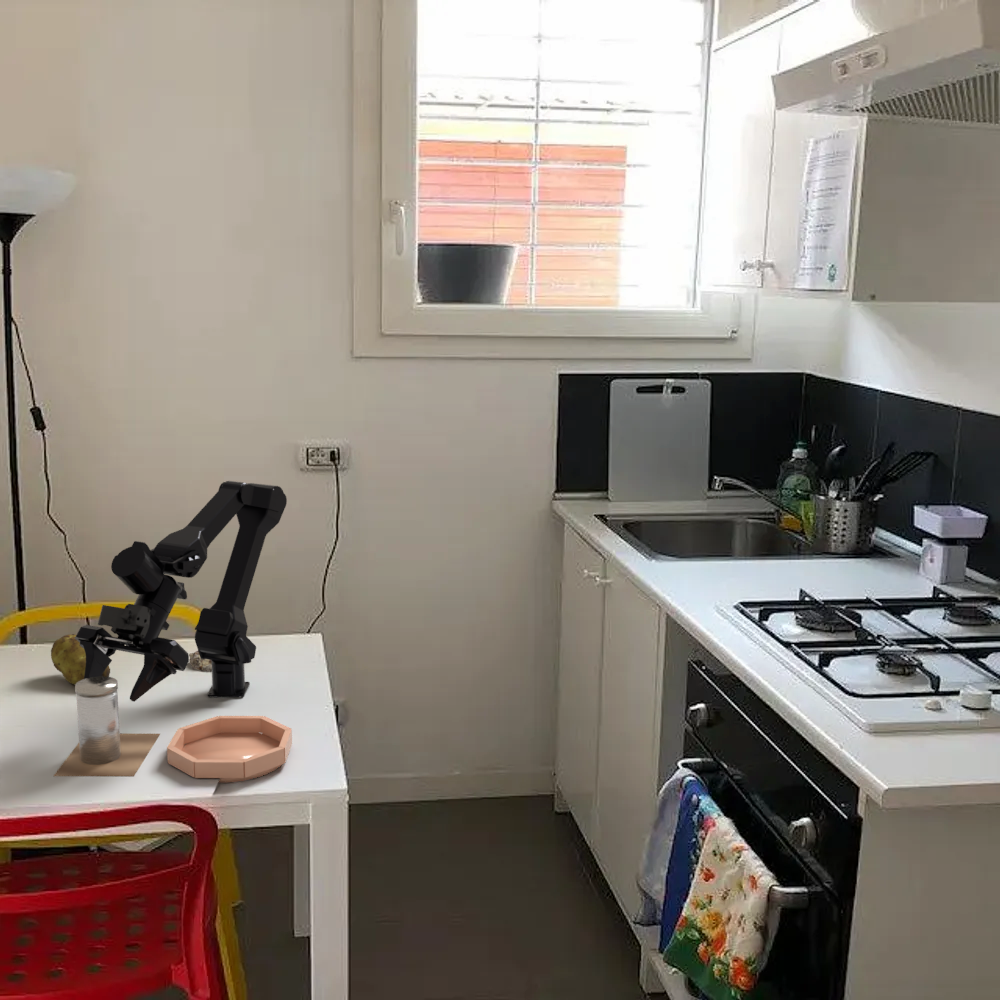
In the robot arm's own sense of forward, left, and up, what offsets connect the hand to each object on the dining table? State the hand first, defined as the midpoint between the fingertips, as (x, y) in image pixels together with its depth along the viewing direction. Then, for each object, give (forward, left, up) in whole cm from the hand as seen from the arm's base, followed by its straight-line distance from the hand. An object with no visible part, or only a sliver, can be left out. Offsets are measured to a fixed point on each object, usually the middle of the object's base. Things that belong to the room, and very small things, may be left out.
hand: (108, 695), depth 190 cm
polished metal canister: (+2, -1, -9) cm, 10 cm away
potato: (-33, -15, -10) cm, 38 cm away
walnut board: (+1, 0, -10) cm, 10 cm away
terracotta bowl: (+1, +19, -10) cm, 21 cm away
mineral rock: (-42, +8, -10) cm, 44 cm away
